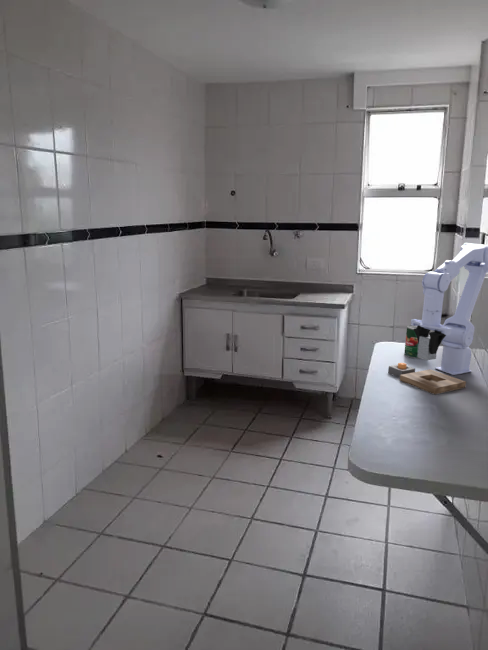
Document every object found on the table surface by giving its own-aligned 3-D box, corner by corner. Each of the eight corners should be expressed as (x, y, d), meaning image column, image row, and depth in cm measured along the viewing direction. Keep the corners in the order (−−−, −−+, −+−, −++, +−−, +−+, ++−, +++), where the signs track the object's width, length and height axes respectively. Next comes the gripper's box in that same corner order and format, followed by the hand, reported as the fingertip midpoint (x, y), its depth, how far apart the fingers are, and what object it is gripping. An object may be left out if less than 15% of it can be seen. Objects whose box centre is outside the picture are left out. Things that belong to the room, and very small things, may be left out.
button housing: (400, 370, 188) (401, 363, 187) (414, 375, 183) (415, 368, 182) (388, 373, 184) (388, 366, 184) (401, 378, 179) (402, 371, 179)
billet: (426, 355, 180) (428, 334, 179) (435, 358, 177) (438, 337, 175) (417, 357, 178) (419, 336, 177) (427, 360, 175) (429, 338, 173)
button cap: (401, 369, 185) (402, 362, 185) (407, 371, 183) (408, 364, 182) (395, 370, 184) (396, 363, 183) (401, 372, 181) (402, 365, 181)
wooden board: (429, 375, 184) (430, 369, 184) (465, 387, 172) (466, 381, 172) (399, 380, 177) (400, 374, 177) (434, 394, 165) (435, 388, 165)
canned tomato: (429, 356, 207) (432, 327, 205) (419, 360, 202) (423, 330, 199) (410, 351, 212) (413, 323, 210) (400, 355, 207) (403, 326, 204)
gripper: (406, 306, 178) (401, 347, 181) (442, 315, 166) (437, 358, 169) (421, 305, 182) (416, 345, 185) (457, 313, 170) (452, 356, 173)
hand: (427, 351), depth 177 cm, fingers closed on billet, 4 cm apart
